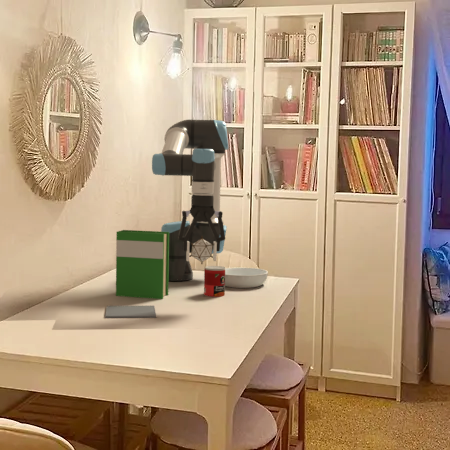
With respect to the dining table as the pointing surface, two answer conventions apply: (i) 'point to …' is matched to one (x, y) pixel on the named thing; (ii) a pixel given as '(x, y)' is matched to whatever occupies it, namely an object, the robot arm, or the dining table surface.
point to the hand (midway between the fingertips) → (201, 260)
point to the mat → (130, 312)
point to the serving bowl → (244, 277)
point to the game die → (201, 250)
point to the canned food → (214, 281)
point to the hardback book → (142, 264)
